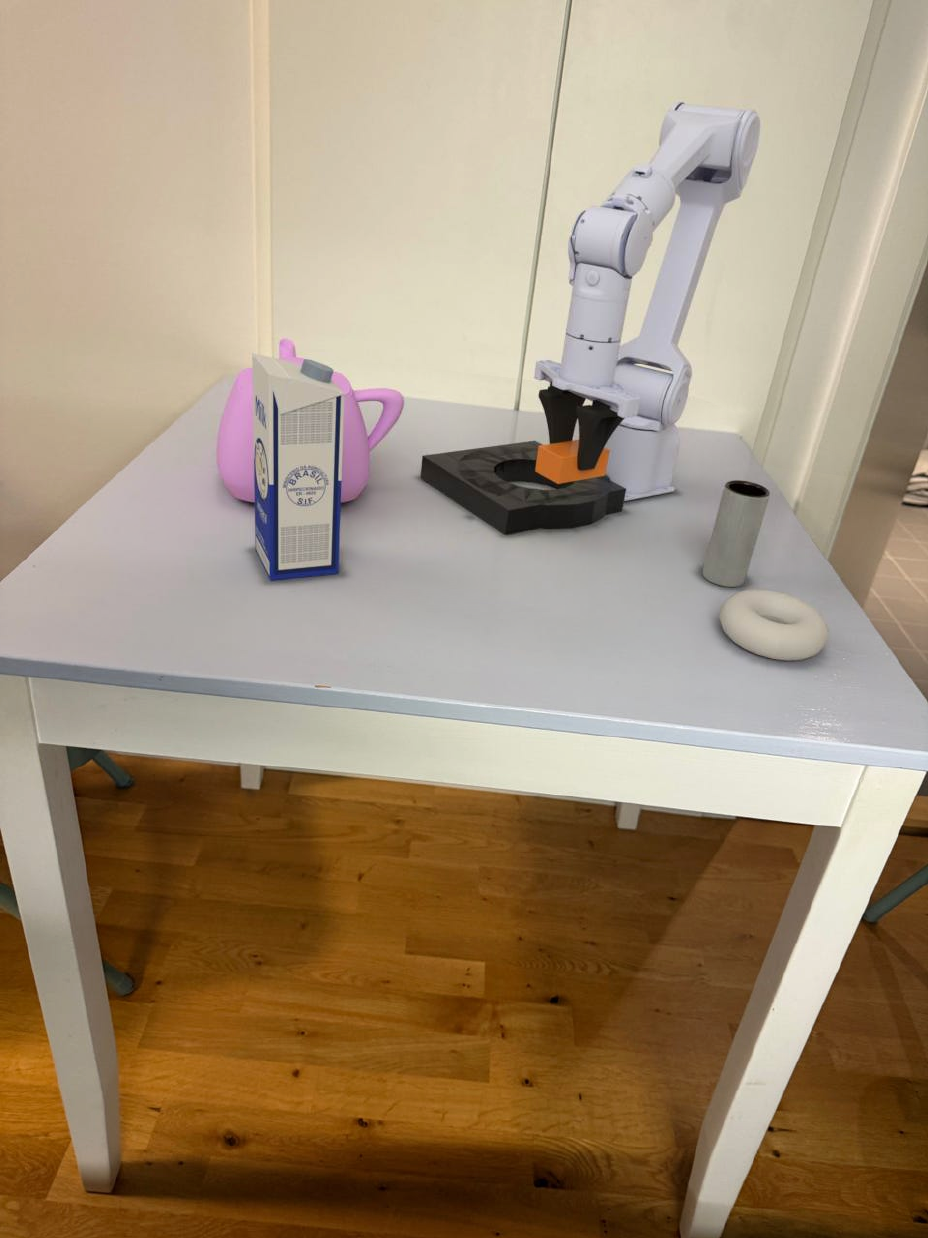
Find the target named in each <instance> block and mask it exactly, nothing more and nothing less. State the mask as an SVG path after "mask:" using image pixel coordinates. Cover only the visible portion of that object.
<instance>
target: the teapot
mask: <svg viewBox="0 0 928 1238" xmlns="http://www.w3.org/2000/svg"><path fill="white" fill-rule="evenodd" d="M278 343H279V344H278V349H279V350H278V351H279V352H278V353H279V354H278V358H279V359H282V360H285V361H289V362H292V363H295V364H299V365H302V364H303V361H304V359H305V358H303V357H297V351H296V346H295V343H294V342H293V340H291V339H289V338H282V339H280V340H279V342H278ZM331 380H332V381H333V382H334V383H335V384H336V385H337V386H338V387H339V388H340V389H341V390H342V391H343V392H344V393H345V399H344V427H343V455H342V484H341V504H342V503H346V502H351V501H353V500H355V499H357V498H358V497H359V495H360V494H361V493H362V491H363V490H364V488H365V487H366V486H367V483H368V482H369V478H370V474H371V454H370V453H372V451H373V450H374V449H375V448H376V447H377V445H379V444H380V443H381V442H382V440H383V439H384V438H385V437H386V436H387V435H388V434H389V432H390V431H391V430H392V428H394V426H395V425H396V424H397V422H398V421H399V419H400V417H401V415H402V412H403V410H404V405H405V398H404V396H403V394H402V393H401V392H400V391H398V390H396V389H393V388H385V387H384V388H383V387H379V388H375V387H374V388H365V389H356V390H353V387H352V384H351V383H350V380H349V379H348V378H347V377H346V376H345V375H344V374H343V373H341V372H338V371H333V374H332V378H331ZM363 402H378V403H381V404H382V411H381V414H380V416H379V418H378V421H377V423H376V424H375V426H374V428H373V429H372V431H371V432H370V434H369V435H368V431H367V427H366V423H365V420H364V417H363V413H362V411H361V410H362V409H361V407H360V404H359V403H363ZM216 466H217V470H218V473H219V476H220V478H221V480H222V482H223V483H224V486H225V487H226V489H227V490H228V491H229V493H230V494H231V496H233V497H234V498H236V499H238V500H241V501H245V502H249V503H254V504H255V488H254V428H253V367H247V368H243V369H241V370H240V371H239V372H238V373H237V375H236V378H235V380H234V382H233V385H232V387H231V390H230V392H229V396H228V398H227V400H226V402H225V405H224V407H223V411H222V414H221V418H220V423H219V428H218V434H217V439H216Z"/></svg>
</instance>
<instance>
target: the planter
mask: <svg viewBox="0 0 928 1238" xmlns="http://www.w3.org/2000/svg"><path fill="white" fill-rule="evenodd" d="M770 496H771V492H770V490H769V489H768V488H767V487H765V486H763V485H761V484H759V483H756V482H753V481H748V480H737V479H735V480H729V481H727V482H726V483H725V484H724V487H723V490H722V494H721V499H720V502H719V506H718V509H717V514H716V518H715V521H714V524H713V528H712V531H711V536H710V540H709V544H708V549H707V551H706V555H705V560H704V563H703V567H702V573H701V574H702V576H703V578H704V579H705V580H707V581H709V582H711V584H715V585H718V586H721V587H727V588H737V587H741V586H742V585H744V583H745V581H746V578H747V576H748V571H749V569H750V566H751V565H750V564H751V562H752V558H753V554H754V552H755V548H756V544H757V541H758V537H759V533H760V531H761V527H762V523H763V520H764V516H765V513H766V509H767V506H768V503H769V499H770Z"/></svg>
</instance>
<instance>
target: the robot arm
mask: <svg viewBox="0 0 928 1238" xmlns="http://www.w3.org/2000/svg"><path fill="white" fill-rule="evenodd" d="M760 134H761V119H760V116H759V114H758V112H757V110H756V109H753V108H748V109H738V108H729V107H722V106H721V107H719V106H710V105H701V104H692V103H685V102H684V101H676V102H674V103H673V104H672V106H671V107H669V109H668V110H667V111H666V113H665V116H664V117H663V121H662V124H661V128H660V132H659V141H658V148H657V150H656V151H655V152H654V155H653V156H652V158H651V159H650V161H649V162H648V163H644V164H643V163H637V164H636V166H635V167H633V168H631V169H630V170H629V172H628V173H627V174H626V175H625V176H624V177H623V179H622V180H621V181H620V182H619V183H618V184H617V186H616V187H615V188H614V189H613V190H612V192H610V194H609V195H608V196H607V197H606V198H605V200H604V201H603V202H602V203H601V204H600V205H599V206H597V205H591V206H589V207H588V208H587V209H583V210H581V211H580V212H579V214H578V215H577V216H576V218H575V220H574V222H573V224H572V228H571V231H570V235H569V237H568V244H567V254H568V259H569V273H568V283H569V285H570V286H572V290H571V297H570V302H569V309H568V314H567V315H568V316H567V321H566V328H565V335H564V341H563V347H562V355H561V361H560V362H557V361H554V360H552V359H544V360H536V361H535V368H534V375H533V378H534V379H535V380H537V381H545V382H547V383H549V386H548V387H547V388H544V389H540V390H539V391H538V399H539V401H540V404H541V406H542V409H543V413H544V415H545V420H546V424H547V431H548V440H549V444H553V443H560V442H567V441H574V436H575V435H574V434H575V430H576V425H577V423H578V440H579V446H578V454H577V467H578V469H579V470H581V471H584V470H590V469H594V468H595V466H596V464H597V462H598V459H599V457H600V455H601V453H602V451H603V449H604V448H606V449H608V450H610V453H609V458H608V464H607V469H606V475H607V476H608V477H609V478H610V480H611V481H613V482H614V483H616V484H618V485H620V486H622V487H624V488H626V493H625V498H624V502H627V501H632V500H637V499H643V498H647V497H653V496H658V495H664V494H669V493H673V492H675V487H674V486H672V480H673V476H674V471H675V468H676V463H677V458H678V455H679V449H680V444H681V439H680V438H681V437H680V433H679V428H678V427H677V426H676V423H678V421H679V420H680V418H681V417H682V415H683V412H684V410H685V408H686V404H687V401H688V397H689V390H690V389H689V388H690V384H691V380H692V377H693V369H692V365H691V363H690V361H689V359H688V358H687V357H686V355H684V353H683V351H681V348H680V347H679V342H680V340H681V336H682V334H683V330H684V327H685V324H686V322H687V318H688V315H689V312H690V308H691V305H692V302H693V299H694V296H695V293H696V290H697V287H698V284H699V280H700V277H701V275H702V271H703V269H704V266H705V263H706V259H707V256H708V254H709V251H710V247H711V244H712V241H713V237H714V235H715V231H716V229H717V225H718V223H719V220H720V218H721V216H722V213H723V211H724V208H725V206H726V204H729V203H730V202H732V201H735V200H737V199H739V198H740V197H741V196H742V193H743V190H744V188H745V187H746V185H747V182H748V178H749V176H750V173H751V170H752V166H753V163H754V160H755V157H756V154H757V150H758V147H759V141H760ZM676 196H678V197H679V201H680V204H679V208H678V211H677V214H676V218H675V220H674V223H673V227H672V230H671V232H670V236H669V239H668V243H667V246H666V250H665V252H664V256H663V259H662V262H661V265H660V269H659V271H658V274H657V278H656V280H655V283H654V287H653V290H652V294H651V296H650V300H649V302H648V306H647V309H646V313H645V315H644V319H643V322H642V325H641V328H640V331H639V333H638V336H636V337H634V338H633V339H631V340H629V341H626V342H624V343H623V344H621V343H622V337H623V331H624V325H625V319H626V315H627V310H628V303H629V298H630V292H631V287H632V284H633V283H632V281H633V278H634V276H636V275H637V274H638V273H640V271H641V269H642V267H643V266H644V262H645V260H646V257H647V254H648V251H649V249H650V247H651V246H652V242H653V239H654V232H655V231H656V229H658V227H659V226H660V225H661V224H662V222H663V221H664V219H666V217H667V215H668V214H670V212H671V210H672V209H673V208H674V205H675V201H676ZM641 365H644V366H641ZM646 366H648V367H646ZM650 367H652V368H650ZM654 368H655V369H654ZM656 368H657V369H656ZM658 369H660V370H658ZM661 370H664V371H661ZM667 371H668V372H667ZM670 372H671V373H670ZM586 400H588V401H590V402H592V403H591V404H586V405H584V404H585V402H586Z"/></svg>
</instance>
